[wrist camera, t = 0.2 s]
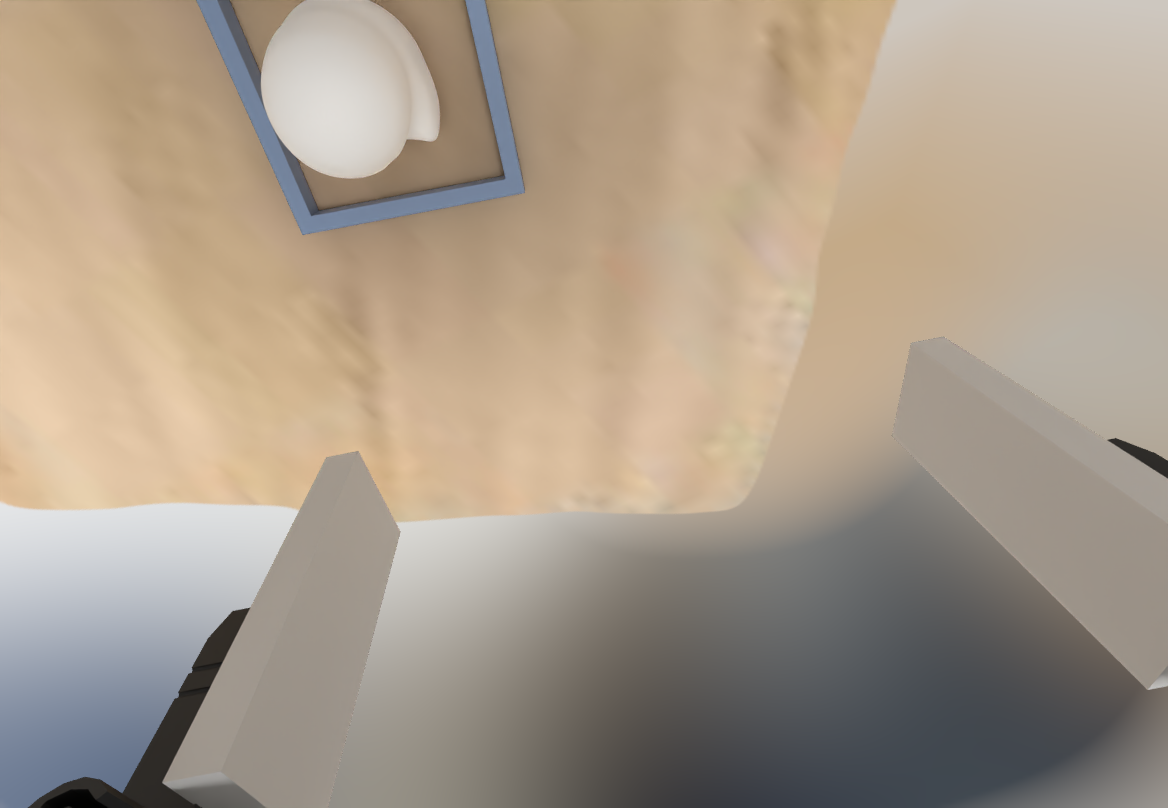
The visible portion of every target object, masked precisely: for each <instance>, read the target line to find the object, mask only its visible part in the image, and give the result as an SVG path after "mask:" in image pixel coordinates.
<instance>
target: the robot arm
mask: <svg viewBox="0 0 1168 808" xmlns="http://www.w3.org/2000/svg"><path fill="white" fill-rule="evenodd" d="M892 437H893V438H894V439H895V440H896V441H897V442H898V443H899V444H900V445H901V446H903V447H904V449H905V450H906V451H908V453H910V454H911V456H913V458H915V460H916V461H918V462H919V463H920V464H921V465H922V466H923V467H924V468H925V469H926V470H927V471H928V472H929V473H930V474H931V475H932V476H933V477H934V478H935V479H936V480H937V481H938V482H939V483H940V484H941V485H942V486H943V487H944V488H945V489H946V490H947V491H948V492H949V493H950V494H951V495H952V496H953V497H954V498H955V499H956V500H957V501H958V502H959V503H960V504H961V505H962V506H963V507H964V508H965V509H966V510H967V511H968V512H969V513H970V514H971V515H972V516H973V517H974V518H975V519H976V520H977V521H978V522H979V523H980V524H981V525H982V526H983V527H984V528H985V529H986V530H987V531H988V532H989V533H990V534H991V535H992V536H993V537H994V538H995V539H996V540H997V541H998V542H999V543H1000V544H1001V545H1002V546H1003V547H1004V548H1005V549H1006V550H1007V551H1008V552H1009V553H1010V554H1011V555H1012V556H1013V557H1014V558H1015V559H1017V561H1018V562H1019V563H1020V564H1021V565H1023V566H1024V568H1025V569H1026V570H1027V571H1028V572H1029V573H1030V574H1031V575H1032V576H1033V577H1035V578H1036V579H1037V580H1038V581H1039V582H1040V583H1041V584H1042V585H1043V586H1044V587H1045V588H1046V589H1047V590H1048V591H1049V592H1050V593H1051V594H1052V595H1053V596H1054V597H1055V598H1056V599H1057V600H1058V601H1059V602H1060V603H1061V604H1062V605H1063V606H1064V607H1065V608H1066V609H1067V610H1068V611H1069V612H1070V613H1071V614H1072V615H1073V616H1074V617H1075V618H1076V619H1077V620H1078V621H1079V622H1080V623H1081V624H1082V625H1083V626H1084V627H1085V628H1086V629H1087V630H1088V631H1089V632H1090V633H1091V634H1092V635H1093V636H1094V637H1095V638H1096V639H1097V640H1098V641H1099V642H1100V643H1101V644H1102V645H1103V646H1104V647H1105V648H1106V649H1107V650H1108V651H1109V652H1110V653H1111V654H1112V655H1113V656H1114V657H1115V658H1116V659H1117V660H1118V661H1119V662H1120V663H1121V664H1122V665H1123V666H1124V667H1125V668H1127V670H1128V671H1129V672H1130V673H1131V674H1132V675H1133V676H1134V677H1136V678H1137V680H1138V681H1139V682H1140V683H1142V685H1143V686H1144V687H1145V688H1146V689H1148V690H1149V689H1154V688H1159V687H1165V686H1168V461H1167V460H1165V459H1164V458H1162V457H1161V456H1159V455H1157V454H1156V453H1153V452H1150V451H1148V450H1145V449H1143V448H1140V447H1137V446H1135V445H1132V444H1130V443H1127V442H1124V441H1122V440H1119V439H1116V438H1115V439H1110V440H1106V439H1104V438H1103V437H1101V436H1100V435H1098V434H1096V433H1095V432H1093V431H1092V430H1090V429H1088V428H1087V427H1085V426H1084V425H1082V424H1081V423H1079V422H1078V421H1076V420H1074V419H1073V418H1071V417H1070V416H1068V415H1066V414H1065V413H1063V412H1062V411H1060V410H1059V409H1057V408H1055V407H1054V406H1052V405H1051V404H1049V403H1048V402H1046V401H1044V400H1043V399H1041V398H1040V397H1038V396H1037V395H1035V394H1033V393H1032V392H1030V391H1029V390H1027V389H1025V388H1024V387H1022V386H1021V385H1019V384H1017V383H1016V382H1014V381H1013V380H1011V379H1010V378H1008V377H1006V376H1005V375H1003V374H1002V373H1000V372H999V371H997V370H995V369H994V368H992V367H991V366H989V365H987V364H986V363H984V362H983V361H981V360H980V359H978V358H977V357H975V356H973V355H972V354H970V353H969V352H967V351H966V350H964V349H962V348H961V347H959V346H958V345H956V344H954V343H953V342H951V341H950V340H948V339H947V338H945V337H939V338H934V339H928V340H923V341H918V342H914V343H911V345H910V350H909V355H908V360H907V365H906V370H905V375H904V380H903V385H902V390H901V395H900V400H899V404H898V410H897V414H896V419H895V424H894V430H893V434H892ZM399 536H400V530H399V528H398V526H397V524H396V522H395V520H394V519H393V517H392V515H391V513H390V511H389V509H388V507H387V505H386V503H385V501H384V499H383V497H382V496H381V494H380V492H379V490H378V488H377V486H376V484H375V482H374V480H373V478H372V476H371V474H370V473H369V471H368V469H367V467H366V465H365V463H364V461H363V459H362V457H361V455H360V453H359V451H356V452H351V453H346V454H341V455H336V456H331V457H326V459H325V461H324V463H323V465H322V467H321V469H320V471H319V473H318V475H317V477H316V479H315V481H314V483H313V485H312V487H311V489H310V491H309V493H308V495H307V497H306V499H305V501H304V503H303V505H302V507H301V509H300V511H299V513H298V515H297V517H296V518H295V520H294V522H293V524H292V526H291V528H290V531H289V532H288V534H287V536H286V538H285V540H284V542H283V544H282V546H281V548H280V550H279V552H278V554H277V556H276V558H275V560H274V562H273V564H272V566H271V568H270V570H269V572H268V574H267V576H266V578H265V580H264V582H263V584H262V586H261V588H260V590H259V592H258V594H257V596H256V598H255V600H254V602H253V604H252V606H251V608H246V609H242V610H236V611H233V612H231V614H230V615H229V616H228V617H227V618H226V619H225V620H224V621H223V623H222V624H221V625H220V626H219V627H218V628H217V629H216V630H215V631H214V632H213V633H212V635H211V636H210V637H209V638H208V639H207V642H206V643H205V645H204V647H203V648H202V650H201V652H200V654H199V656H198V658H197V659H196V661H195V663H194V665H193V667H192V670H193V671H192V673H190V674H188V676H187V678H186V679H185V681H184V683H183V685H182V686H181V688H180V690H179V692H178V693H179V697H178V698H176V699H174V701H173V703H172V705H171V707H170V708H169V710H168V712H167V714H166V716H165V717H164V719H163V721H162V723H161V725H160V727H159V728H158V730H157V732H156V734H155V735H154V737H153V739H152V741H151V743H150V744H149V746H148V748H147V750H146V752H145V754H144V755H143V757H142V759H141V761H140V763H139V765H138V766H137V768H136V770H135V772H134V773H133V775H132V777H131V779H130V781H129V783H128V784H127V786H126V788H125V790H124V792H123V793H120V792H119V791H117V790H116V789H114V788H113V787H111V786H109V785H108V784H106V783H105V782H103V781H102V780H100V779H94V778H88V777H83V778H80V779H77V780H73V781H70V782H67V783H64V784H62V785H61V786H59V787H57V788H55V789H54V790H52V791H50V792H49V793H47V794H45V795H44V796H42V797H40V798H39V799H38V800H37V801H35V802H34V803H33V804H32V805H31V806H30V807H28V808H328V805H329V801H330V798H331V794H332V790H333V786H334V782H335V779H336V775H337V771H338V767H339V764H340V760H341V756H342V752H343V748H344V744H345V741H346V737H347V733H348V729H349V726H350V722H351V718H352V714H353V710H354V706H355V703H356V699H357V695H358V691H359V687H360V684H361V680H362V676H363V672H364V669H365V665H366V661H367V657H368V653H369V649H370V646H371V642H372V638H373V634H374V631H375V627H376V623H377V619H378V615H379V611H380V607H381V604H382V600H383V596H384V593H385V589H386V585H387V581H388V577H389V574H390V569H391V566H392V562H393V558H394V555H395V551H396V547H397V543H398V539H399Z"/></svg>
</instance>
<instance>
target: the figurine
mask: <svg viewBox="0 0 1168 808" xmlns="http://www.w3.org/2000/svg"><path fill="white" fill-rule="evenodd" d="M261 92H262V99H263V103H264V107H265V110H266V113H267V116H268V118H269V120H270V123H271V125H272V126H273V128H274V130H275V132H276V133H277V135H278V137H279V138H280V139H281V141H282V142H283V144H284V145H285V146H286V147H287V148H288V150H289V151H290V152H291V153H292V154H293V155H294V156H295V157H297V158H298V159H299V160H300V161H301V162H303V163H304V164H306V165H307V166H309V167H310V168H312V169H314V170H316V171H318V172H320V173H323V174H326V175H329V176H333V177H338V178H363V177H368V176H371V175H374V174H376V173H378V172H380V171H382V170H383V169H385V168H386V167H387V166H388V165H389V164H390V163H391V162H392V161H393V160H394V159H396V158H397V157H398V156H399V154H400V153H401V151H402V149H403V147H404V145H405V142H406V140H408V139H413V140H423V141H428V142H430V141H435V140H436V139H437V137H438V134H439V128H440V107H439V100H438V95H437V91H436V88H435V84H434V82H433V79H432V76H431V74H430V71H429V69H428V67H427V64H426V62H425V60H424V57H423V55H422V53H421V51H420V49H419V47H418V45H417V43H416V41H415V40H414V38H413V37H412V35H411V34H410V32H409V31H408V30H407V29H406V27H405V26H404V25H403V24H402V23H401V22H400V21H399V20H398V19H397V18H396V17H394V16H393V15H392V14H391V13H390V12H388V11H387V10H385V9H384V8H382V7H381V6H379V5H378V4H376V3H374V2H372V1H370V0H305V1H303V2H302V3H300V4H299V5H298V6H296V7H295V8H294V9H293V10H292V11H291V12H290V13H289V15H288V16H287V17H286V19H285V20H284V22H283V23H282V25H281V26H280V27H279V28H278V29H277V31H276V32H275V34H274V35H273V37H272V39H271V40H270V43H269V45H268V47H267V50H266V53H265V57H264V61H263V66H262V72H261Z"/></svg>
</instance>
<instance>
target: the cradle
mask: <svg viewBox="0 0 1168 808" xmlns="http://www.w3.org/2000/svg"><path fill="white" fill-rule="evenodd" d="M196 1H197V3H198V5H199V7H200V9H201V12H202V14H203V16H204V18H205V20H206V23H207V25H208V27H209V29H210V31H211V34H212V36H213V38H214V40H215V43H216V45H217V47H218V49H219V51H220V54H221V56H222V58H223V60H224V62H225V65H226V67H227V69H228V71H229V73H230V76H231V78H232V80H233V82H234V85H235V87H236V89H237V91H238V93H239V96H240V98H241V100H242V102H243V104H244V107H245V109H246V111H247V113H248V115H249V118H250V120H251V122H252V124H253V126H254V129H255V131H256V133H257V135H258V138H259V140H260V142H261V144H262V146H263V149H264V151H265V153H266V155H267V157H268V160H269V162H270V164H271V166H272V168H273V171H274V173H275V175H276V177H277V180H278V182H279V184H280V186H281V188H282V191H283V193H284V195H285V197H286V199H287V202H288V204H289V206H290V208H291V210H292V213H293V215H294V217H295V219H296V221H297V224H298V226H299V228H300V230H301V233H302V235H305V234H310V233H316V232H321V231H326V230H331V229H337V228H342V227H347V226H353V225H358V224H363V223H368V222H374V221H379V220H384V219H390V218H395V217H400V216H405V215H411V214H416V213H421V212H427V211H432V210H437V209H442V208H448V207H453V206H458V205H463V204H469V203H474V202H479V201H485V200H490V199H495V198H500V197H506V196H511V195H516V194H522V193H525V188H524V183H523V178H522V174H521V169H520V164H519V159H518V154H517V150H516V145H515V140H514V135H513V130H512V126H511V121H510V116H509V111H508V106H507V102H506V97H505V92H504V87H503V82H502V78H501V73H500V68H499V63H498V58H497V54H496V49H495V44H494V39H493V34H492V30H491V25H490V20H489V15H488V10H487V6H486V1H485V0H465V1H466V6H467V10H468V15H469V19H470V23H471V28H472V32H473V37H474V41H475V46H476V50H477V54H478V59H479V63H480V68H481V72H482V77H483V81H484V86H485V90H486V94H487V99H488V103H489V108H490V112H491V117H492V121H493V125H494V130H495V134H496V139H497V143H498V148H499V152H500V157H501V161H502V165H503V170H504V174H505V176H500V177H494V178H489V179H484V180H478V181H473V182H468V183H463V184H457V185H452V186H447V187H441V188H436V189H431V190H426V191H420V192H415V193H410V194H405V195H399V196H394V197H389V198H383V199H378V200H373V201H368V202H362V203H357V204H352V205H346V206H341V207H336V208H331V209H325V210H320V211H319V210H318V208H317V205H316V203H315V201H314V198H313V196H312V194H311V191H310V189H309V187H308V184H307V182H306V180H305V177H304V175H303V172H302V170H301V168H300V165H299V163H298V161H297V158H296V157H295V156H294V155H293V154H292V153H291V152H290V151H289V150H288V148H287V147H286V146H285V145H284V144H283V142H282V141H281V139H280V138H279V137H278V135H277V133H276V132H275V130H274V128H273V126H272V125H271V123H270V120H269V118H268V116H267V113H266V110H265V107H264V103H263V99H262V92H261V74H260V71H259V69H258V67H257V64H256V62H255V59H254V57H253V55H252V52H251V50H250V48H249V45H248V43H247V41H246V38H245V36H244V34H243V31H242V29H241V27H240V24H239V22H238V19H237V17H236V15H235V12H234V10H233V8H232V5H231V3H230V1H229V0H196Z"/></svg>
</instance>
